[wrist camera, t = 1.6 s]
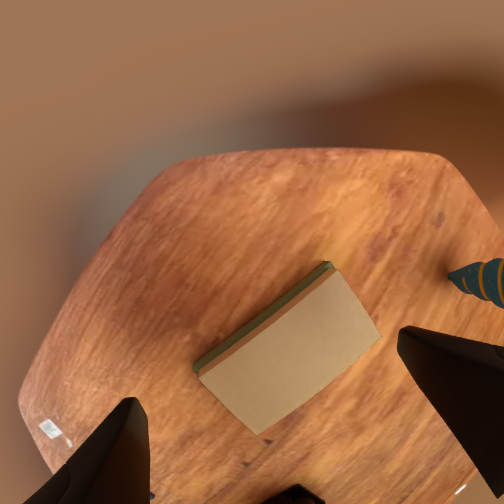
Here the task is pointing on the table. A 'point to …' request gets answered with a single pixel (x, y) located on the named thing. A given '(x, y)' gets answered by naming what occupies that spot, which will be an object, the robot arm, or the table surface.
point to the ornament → (482, 280)
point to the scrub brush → (289, 350)
